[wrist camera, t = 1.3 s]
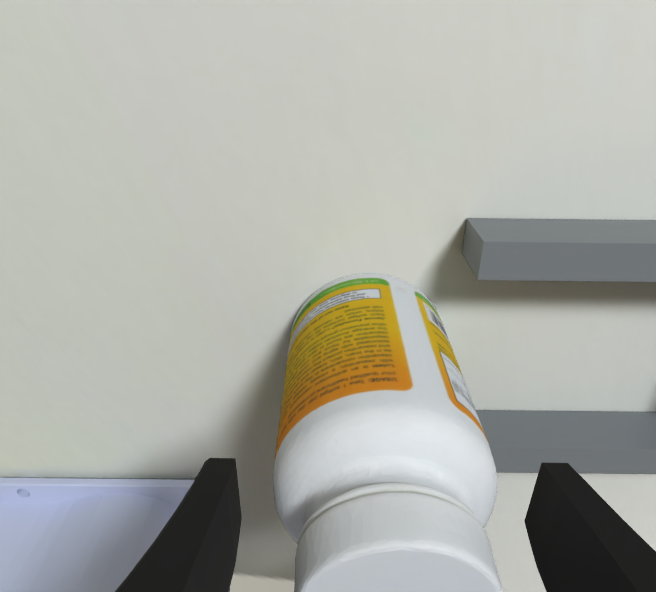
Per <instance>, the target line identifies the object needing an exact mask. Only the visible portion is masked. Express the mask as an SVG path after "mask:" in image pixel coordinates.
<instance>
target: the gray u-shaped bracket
mask: <svg viewBox="0 0 656 592" xmlns="http://www.w3.org/2000/svg"><path fill="white" fill-rule="evenodd" d="M462 254H463V256H464V258H465V260H466V261H467V263H468V265H469V266H470V268H471V270H472V271H473V273H474V275H475V277H476V278H477V280H520V281H610V282H656V220H577V219H488V218H467V221H466V228H465V235H464V242H463V248H462ZM476 413H477V415H478V418H479V420H480V423H481V426H482V428H483V431H484V433H485V436H486V438H487V441H488V443H489V447H490V450H491V453H492V456H493V459H494V463H495V467H496V472H510V473H539V470H540V466H541V463H568V464H569V465H570V466H571V467H572V468H573V469H574V470H575V471H576V472H577V473H603V474H656V412H601V411H510V410H476Z"/></svg>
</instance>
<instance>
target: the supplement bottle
mask: <svg viewBox="0 0 656 592" xmlns="http://www.w3.org/2000/svg"><path fill="white" fill-rule="evenodd" d="M273 489H274V499H275V504H276V509H277V512H278V515H279V517H280V519H281V521H282V523H283V525H284V527H285V528H286V530H287V531H288V533H289V534H290V535H291V537H292V538H293V539H294V540H295V541H296V543H298V547H297V552H296V558H295V591H294V592H502V587H501V583H500V579H499V575H498V572H497V568H496V565H495V561H494V558H493V554H492V549H491V545H490V540H489V538H488V536H487V534H486V532H485V530H484V529H483V528H484V527H485V525H486V523H487V522H488V520H489V518H490V515H491V513H492V510H493V507H494V503H495V498H496V493H497V474H496V467H495V463H494V459H493V456H492V453H491V450H490V447H489V443H488V441H487V438H486V436H485V433H484V431H483V428H482V426H481V423H480V420H479V418H478V415H477V413H476V410H475V407H474V405H473V402H472V399H471V397H470V394H469V391H468V389H467V386H466V383H465V381H464V378H463V376H462V373H461V371H460V368H459V365H458V363H457V360H456V358H455V355H454V353H453V350H452V347H451V345H450V342H449V340H448V337H447V334H446V332H445V329H444V326H443V324H442V322H441V320H440V317H439V315H438V313H437V311H436V309H435V308H434V306H433V304H432V303H431V302H430V300H429V299H428V298H427V297H426V296H425V295H424V294H423V293H422V292H421V291H420V290H418V289H417V288H416V287H414V286H413V285H411V284H410V283H408V282H406V281H403V280H401V279H398V278H396V277H392V276H388V275H383V274H371V273H368V274H356V275H350V276H346V277H342V278H339V279H337V280H334V281H332V282H330V283H328V284H326V285H324V286H323V287H321V288H320V289H318V290H317V291H316V292H315V293H313V294H312V295H311V296H310V297H309V298H308V299H307V301H306V302H305V303H304V304H303V306H302V307H301V309H300V310H299V312H298V314H297V316H296V318H295V320H294V323H293V326H292V331H291V335H290V341H289V349H288V357H287V366H286V374H285V383H284V391H283V399H282V407H281V415H280V424H279V431H278V439H277V446H276V454H275V463H274V475H273Z"/></svg>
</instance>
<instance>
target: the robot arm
mask: <svg viewBox="0 0 656 592" xmlns="http://www.w3.org/2000/svg"><path fill="white" fill-rule="evenodd" d="M240 525H241V508H240V499H239V489H238V480H237V470H236V460H235V459H232V458H209V459H208V460H207V461H206V462H205V463H204V465H203V467H202V468H201V470H200V472H199V474H198V475H197V477H196V479H195V480H176V479H82V478H0V592H230V584H231V579H232V575H233V571H234V567H235V562H236V555H237V548H238V541H239V533H240ZM525 525H526V529H527V533H528V536H529V540H530V544H531V548H532V551H533V555H534V558H535V562H536V565H537V568H538V571H539V573H540V576H541V578H542V581H543V584H544V586H545V589H546V591H547V592H656V551H655V550H653V549H652V548H651V547H650V546H649V545H648V544H647V543H646V542H645V541H644V540H643V539H642V538H641V537H640V536H639V535H638V534H637V533H636V532H635V531H634V530H633V529H632V528H631V527H630V526H629V525H628V524H627V523H626V522H625V521H624V520H623V519H622V518H621V517H620V516H619V515H618V514H617V513H616V512H615V511H614V510H613V509H612V508H611V507H610V506H609V505H608V504H607V503H606V502H605V501H604V500H603V499H602V498H601V497H600V496H599V495H598V494H597V493H596V491H595V490H594V489H593V488H592V487H591V486H590V485H589V484H588V483H587V482H586V481H585V480H584V479H583V478H582V477H581V476H580V475H579V474H578V473H577V472H576V471H575V470H574V469H573V468H572V467H571V466H570V465H569V464H568V463H541V466H540V470H539V473H538V477H537V480H536V484H535V487H534V491H533V494H532V497H531V501H530V504H529V508H528V511H527V515H526V518H525Z"/></svg>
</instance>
